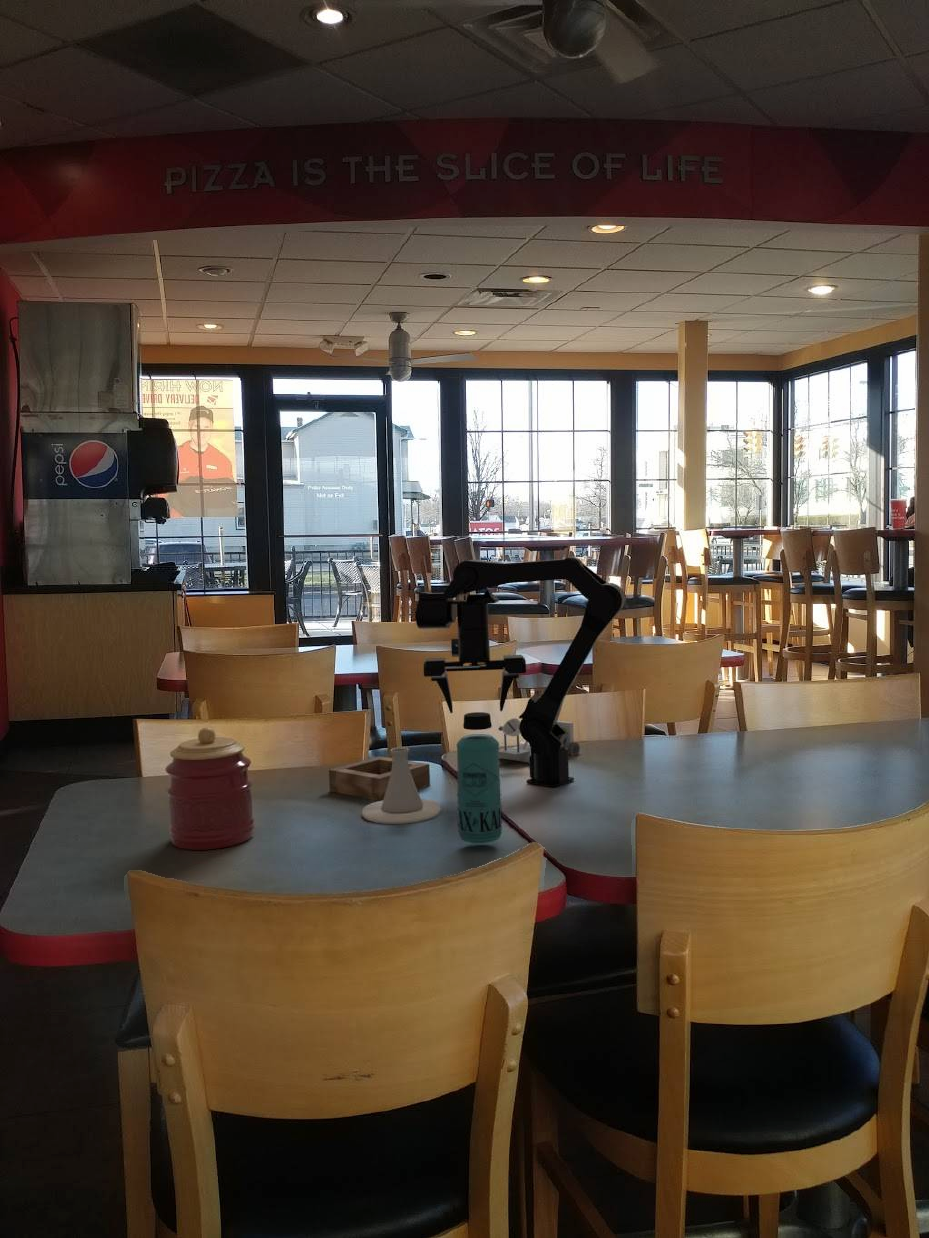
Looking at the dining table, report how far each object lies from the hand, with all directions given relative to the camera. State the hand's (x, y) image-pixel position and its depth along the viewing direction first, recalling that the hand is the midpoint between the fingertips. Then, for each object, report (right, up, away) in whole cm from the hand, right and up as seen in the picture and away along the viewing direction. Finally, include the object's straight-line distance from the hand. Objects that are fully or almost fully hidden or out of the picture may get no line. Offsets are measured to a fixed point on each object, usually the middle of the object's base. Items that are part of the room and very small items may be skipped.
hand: (476, 711), depth 192 cm
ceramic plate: (-13, -15, -19) cm, 27 cm away
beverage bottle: (0, -17, -39) cm, 43 cm away
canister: (-42, -17, -30) cm, 54 cm away
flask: (-13, -15, -19) cm, 27 cm away
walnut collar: (-18, -14, -2) cm, 23 cm away
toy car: (+11, -12, +19) cm, 25 cm away
